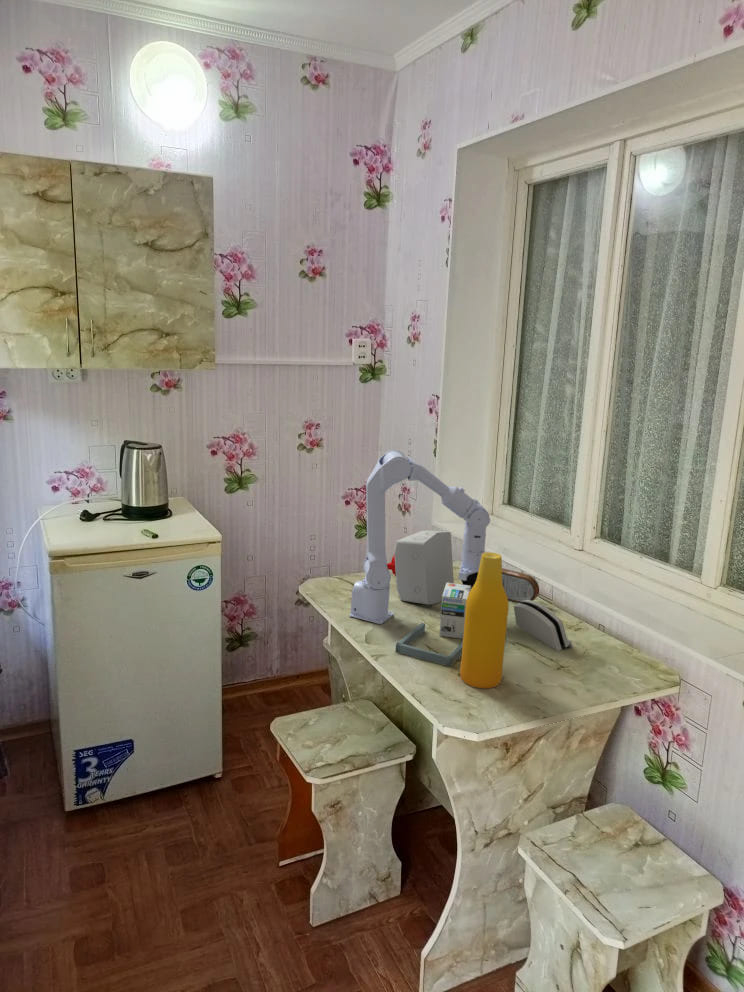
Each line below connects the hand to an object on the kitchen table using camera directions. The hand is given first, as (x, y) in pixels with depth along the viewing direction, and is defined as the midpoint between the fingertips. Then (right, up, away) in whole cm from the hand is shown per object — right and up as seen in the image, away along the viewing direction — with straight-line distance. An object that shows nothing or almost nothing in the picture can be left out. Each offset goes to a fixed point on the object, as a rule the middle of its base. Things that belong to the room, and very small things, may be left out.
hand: (469, 598), depth 202 cm
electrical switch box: (-13, -1, +15) cm, 20 cm away
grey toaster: (+17, -9, -9) cm, 21 cm away
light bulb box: (-5, -7, -7) cm, 12 cm away
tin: (+14, -3, +15) cm, 21 cm away
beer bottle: (-2, -14, -33) cm, 36 cm away
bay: (-11, -9, -18) cm, 23 cm away
